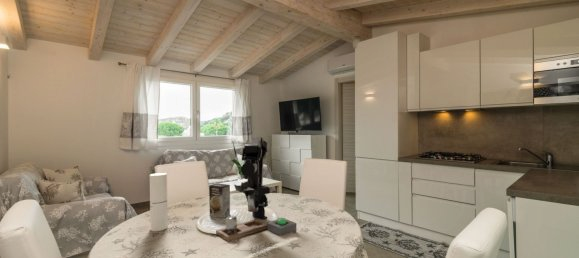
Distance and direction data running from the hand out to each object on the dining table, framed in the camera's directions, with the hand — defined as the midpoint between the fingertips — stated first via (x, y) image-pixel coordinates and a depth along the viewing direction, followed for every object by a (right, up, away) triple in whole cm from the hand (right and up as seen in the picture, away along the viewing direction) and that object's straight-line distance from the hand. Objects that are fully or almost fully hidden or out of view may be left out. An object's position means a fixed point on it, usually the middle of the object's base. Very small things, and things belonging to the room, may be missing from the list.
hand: (253, 206), depth 120 cm
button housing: (+13, -10, -3) cm, 17 cm away
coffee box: (-20, -11, +21) cm, 31 cm away
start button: (+13, -7, -3) cm, 15 cm away
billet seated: (-8, -9, -7) cm, 14 cm away
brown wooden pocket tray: (-4, -10, -4) cm, 12 cm away
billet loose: (0, -2, 0) cm, 2 cm away
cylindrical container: (-44, -11, +4) cm, 45 cm away
